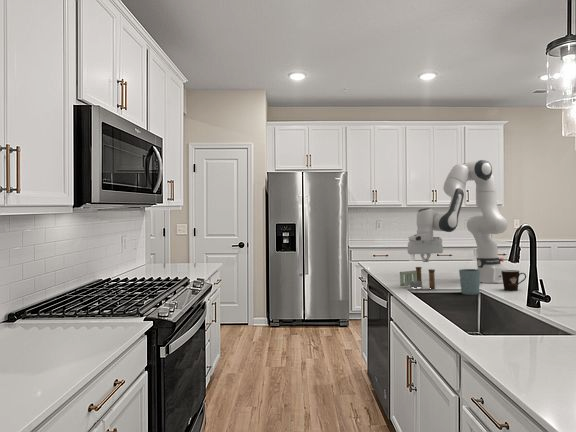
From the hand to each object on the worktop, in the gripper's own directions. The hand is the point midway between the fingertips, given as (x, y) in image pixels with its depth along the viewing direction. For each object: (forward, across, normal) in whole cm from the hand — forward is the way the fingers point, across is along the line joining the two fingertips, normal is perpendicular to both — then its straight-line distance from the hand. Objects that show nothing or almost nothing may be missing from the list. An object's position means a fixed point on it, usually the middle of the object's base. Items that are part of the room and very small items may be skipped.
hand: (425, 262), depth 268 cm
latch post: (+14, 0, +5) cm, 15 cm away
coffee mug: (+14, -36, +26) cm, 47 cm away
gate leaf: (+14, +7, -7) cm, 17 cm away
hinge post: (+14, 0, -8) cm, 17 cm away
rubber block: (+15, +6, 0) cm, 16 cm away
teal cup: (+15, -11, +25) cm, 31 cm away
